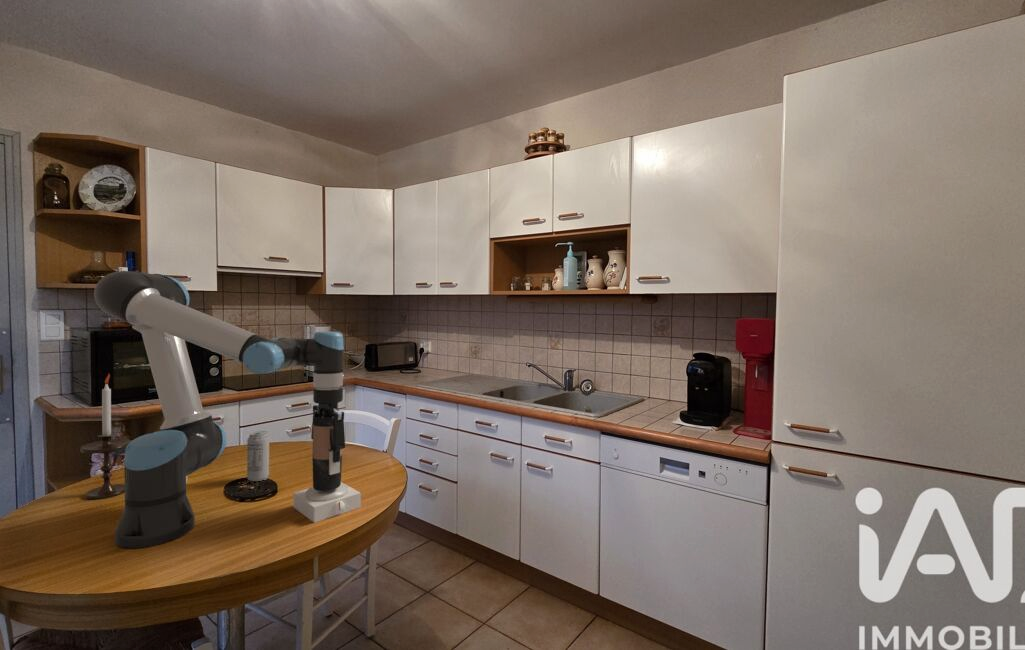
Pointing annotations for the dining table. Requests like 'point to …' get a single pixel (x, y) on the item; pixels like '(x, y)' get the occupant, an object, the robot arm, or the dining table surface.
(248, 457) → the energy drink can
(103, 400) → the candlestick
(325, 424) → the travel mug
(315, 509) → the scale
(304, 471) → the dining table surface
